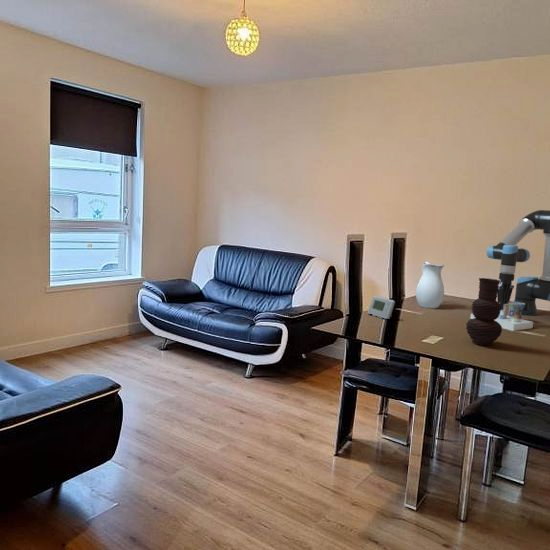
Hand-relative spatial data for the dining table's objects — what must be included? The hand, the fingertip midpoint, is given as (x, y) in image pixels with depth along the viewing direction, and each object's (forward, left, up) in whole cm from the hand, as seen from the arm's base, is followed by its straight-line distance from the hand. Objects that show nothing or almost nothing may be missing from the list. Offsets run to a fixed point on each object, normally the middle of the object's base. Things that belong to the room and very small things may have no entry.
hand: (501, 315), depth 272 cm
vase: (+50, +23, -5) cm, 55 cm away
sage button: (0, +8, -5) cm, 9 cm away
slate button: (0, 0, -4) cm, 4 cm away
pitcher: (+1, -51, -5) cm, 51 cm away
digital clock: (+57, -35, -5) cm, 68 cm away
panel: (0, 0, -5) cm, 5 cm away
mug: (-18, -3, -5) cm, 19 cm away
